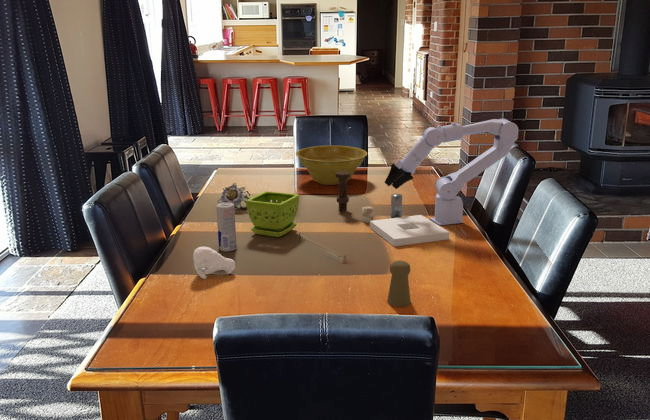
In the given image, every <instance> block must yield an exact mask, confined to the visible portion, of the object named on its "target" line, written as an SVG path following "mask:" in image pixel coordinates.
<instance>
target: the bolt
mask: <svg viewBox="0 0 650 420" xmlns="http://www.w3.org/2000/svg"><path fill="white" fill-rule="evenodd" d="M349 177H350V173H349V172H346V171H339V172H336V178H338V181H339V184H338V196H337V197H336V202H337V203H338V211H339V212H346V211H347V210H348V205H347V204H348V203H349V201H350V197H349V196H348V181H347V178H349Z"/></svg>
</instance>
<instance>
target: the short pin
mask: <svg viewBox="0 0 650 420" xmlns="http://www.w3.org/2000/svg"><path fill="white" fill-rule="evenodd" d="M373 220H374V207H372V206H367V205H366V206H363V207H362V209H361V223H365V224H370V221H373Z"/></svg>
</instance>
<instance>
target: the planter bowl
mask: <svg viewBox="0 0 650 420" xmlns="http://www.w3.org/2000/svg"><path fill="white" fill-rule="evenodd" d="M295 155H296V156H297V157H298V160H299V162H300V164H301V165H302V166H303V167H304V168H306V170H307V172H308V173H309V175H310V176H311V179H312V180H313V181H315V182H316V183H318V184H321V185H329V186H330V185H331V186H334V185H335V186H336V185H339V181H338V178H336V172H339V171H346V172H349V173H350V177H349V178H347V182H348V181H349V180H351V178H352V177H353V175H354V174H355V172H356V169H358V167H360V166H362V163H363V162H364V159H365V157H367V156H368V152H367V151H366V150H365V149H362V148H360V147H355V146H346V145H316V146H309V147H308V146H307V147H305V148H301V149H299V150H297V151H296V152H295Z"/></svg>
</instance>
